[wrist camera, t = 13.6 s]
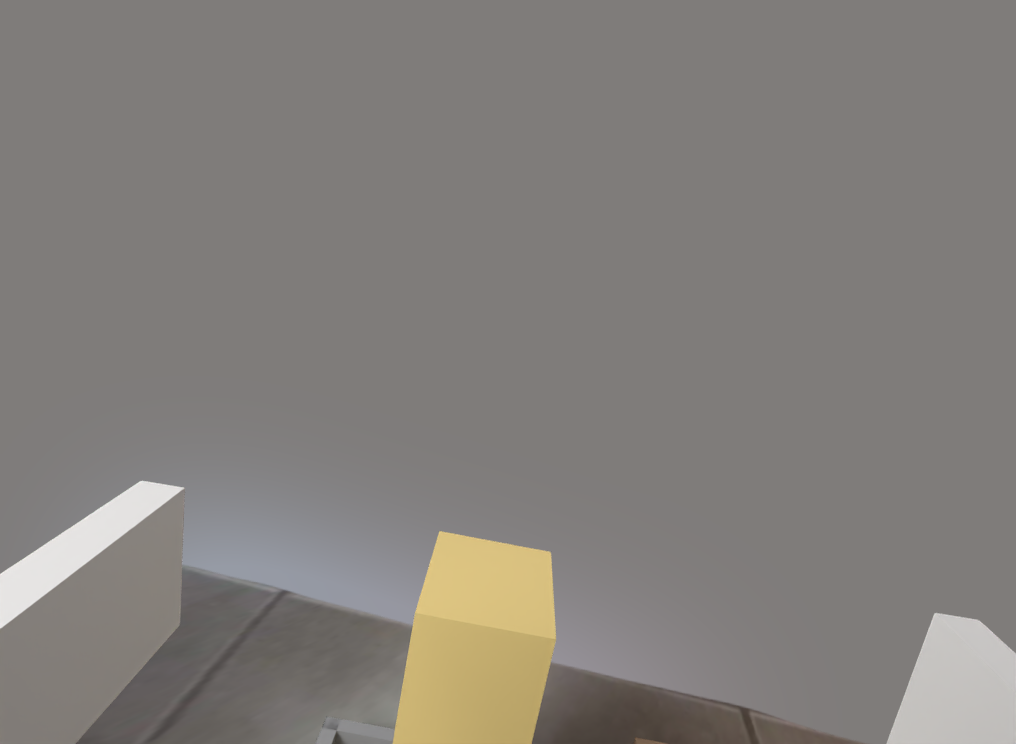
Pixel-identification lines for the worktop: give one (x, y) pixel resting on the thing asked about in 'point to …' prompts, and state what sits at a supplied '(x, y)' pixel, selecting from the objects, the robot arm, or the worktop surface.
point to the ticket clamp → (646, 741)
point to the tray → (353, 733)
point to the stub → (478, 645)
